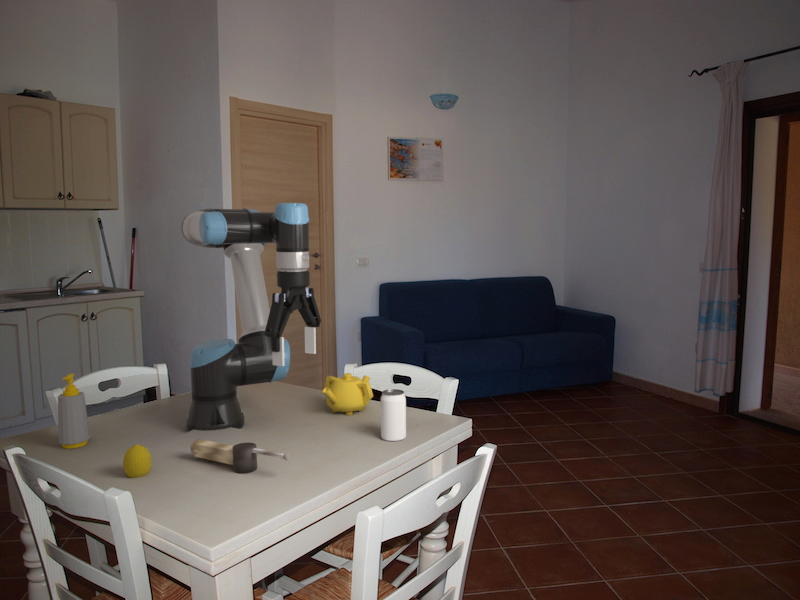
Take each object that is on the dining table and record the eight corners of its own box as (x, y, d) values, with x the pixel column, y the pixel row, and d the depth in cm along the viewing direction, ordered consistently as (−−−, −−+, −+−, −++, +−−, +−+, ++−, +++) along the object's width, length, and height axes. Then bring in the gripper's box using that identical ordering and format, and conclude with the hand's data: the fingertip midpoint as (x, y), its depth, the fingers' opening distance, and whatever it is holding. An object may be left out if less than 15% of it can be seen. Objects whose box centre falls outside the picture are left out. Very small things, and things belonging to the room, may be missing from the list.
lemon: (130, 475, 129) (127, 440, 128) (156, 474, 129) (154, 439, 128) (120, 486, 123) (117, 449, 122) (147, 485, 124) (145, 448, 123)
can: (403, 442, 147) (403, 396, 146) (378, 441, 148) (377, 394, 147) (408, 434, 153) (407, 389, 152) (384, 432, 155) (383, 388, 153)
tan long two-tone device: (185, 461, 133) (184, 438, 132) (201, 453, 137) (200, 431, 136) (282, 483, 120) (281, 458, 120) (297, 474, 125) (296, 450, 124)
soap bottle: (54, 450, 144) (48, 379, 142) (65, 441, 151) (60, 372, 149) (84, 448, 145) (79, 377, 143) (94, 439, 152) (89, 371, 150)
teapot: (347, 398, 188) (346, 363, 187) (392, 407, 177) (392, 371, 176) (302, 414, 172) (301, 376, 171) (349, 425, 161) (348, 385, 160)
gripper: (275, 274, 125) (277, 372, 127) (333, 266, 147) (335, 350, 150) (246, 273, 127) (249, 369, 130) (308, 265, 150) (309, 347, 153)
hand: (295, 359), depth 140 cm, fingers open, 13 cm apart
